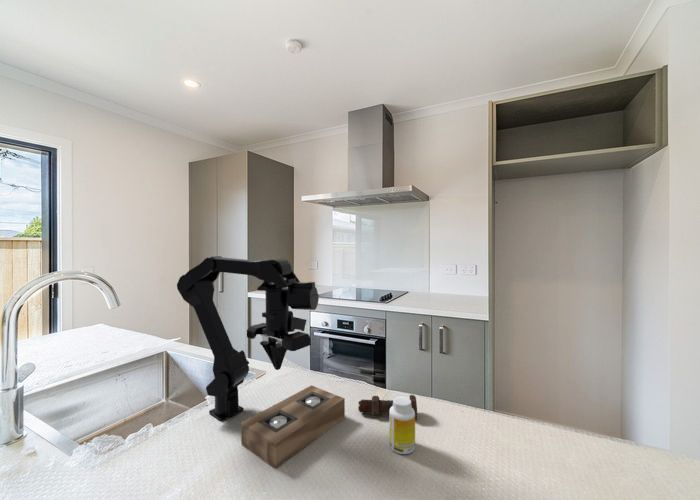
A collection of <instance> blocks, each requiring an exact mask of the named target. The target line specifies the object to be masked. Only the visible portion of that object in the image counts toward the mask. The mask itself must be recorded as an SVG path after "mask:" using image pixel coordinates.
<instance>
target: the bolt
mask: <svg viewBox="0 0 700 500" xmlns="http://www.w3.org/2000/svg"><path fill="white" fill-rule="evenodd" d="M409 399H410V400H411V406H412V408H413V409H414V411H415V421H417V419H418V405H417V397H416V396H415V395H414V394H409ZM357 404H358V409H357V410H358V412H359V413H367V414H371V416H372V417H373V418H379V417H380V415H381V414H389V411H390V408H391V407H392V406H393V399H390V400H389V399H385V400H384V399H380V397H379V396H378V395H373V396H372V397H371V399H360V400H359V401H358V403H357Z"/></svg>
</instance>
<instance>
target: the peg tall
mask: <svg viewBox="0 0 700 500" xmlns="http://www.w3.org/2000/svg"><path fill="white" fill-rule="evenodd" d="M285 423H287V418H286V417H284V416H276V417H273V418H272V419H271V420H270V425H271V426H273V427H274V428H276V429H277V428H279V427H280V426H282V425H284V424H285Z"/></svg>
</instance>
